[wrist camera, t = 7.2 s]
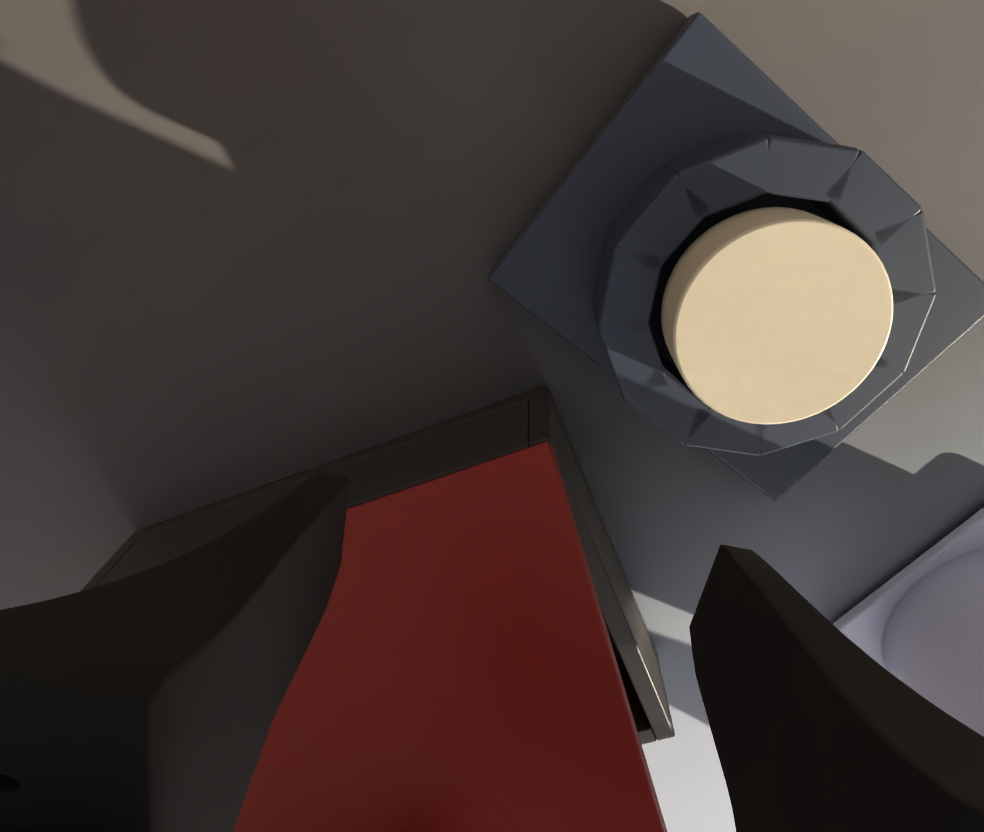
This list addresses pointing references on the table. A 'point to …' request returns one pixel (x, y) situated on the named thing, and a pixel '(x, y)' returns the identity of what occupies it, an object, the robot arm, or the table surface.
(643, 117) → the switch block
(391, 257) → the table surface
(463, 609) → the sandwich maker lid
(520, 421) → the black shallow box
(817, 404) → the power button
